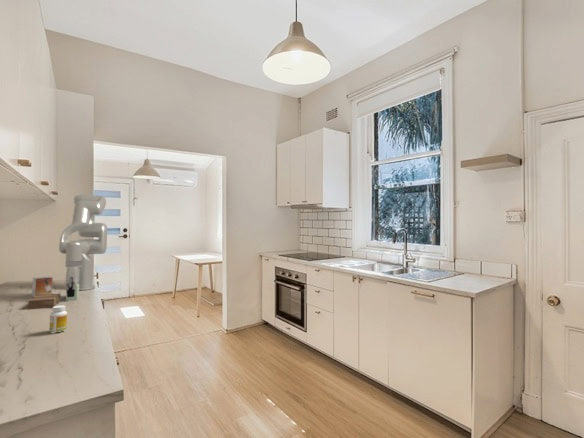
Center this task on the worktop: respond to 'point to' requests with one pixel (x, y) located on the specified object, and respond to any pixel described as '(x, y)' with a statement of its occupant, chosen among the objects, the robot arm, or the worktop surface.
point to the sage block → (74, 294)
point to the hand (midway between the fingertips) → (72, 294)
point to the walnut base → (44, 301)
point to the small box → (42, 286)
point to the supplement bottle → (58, 319)
